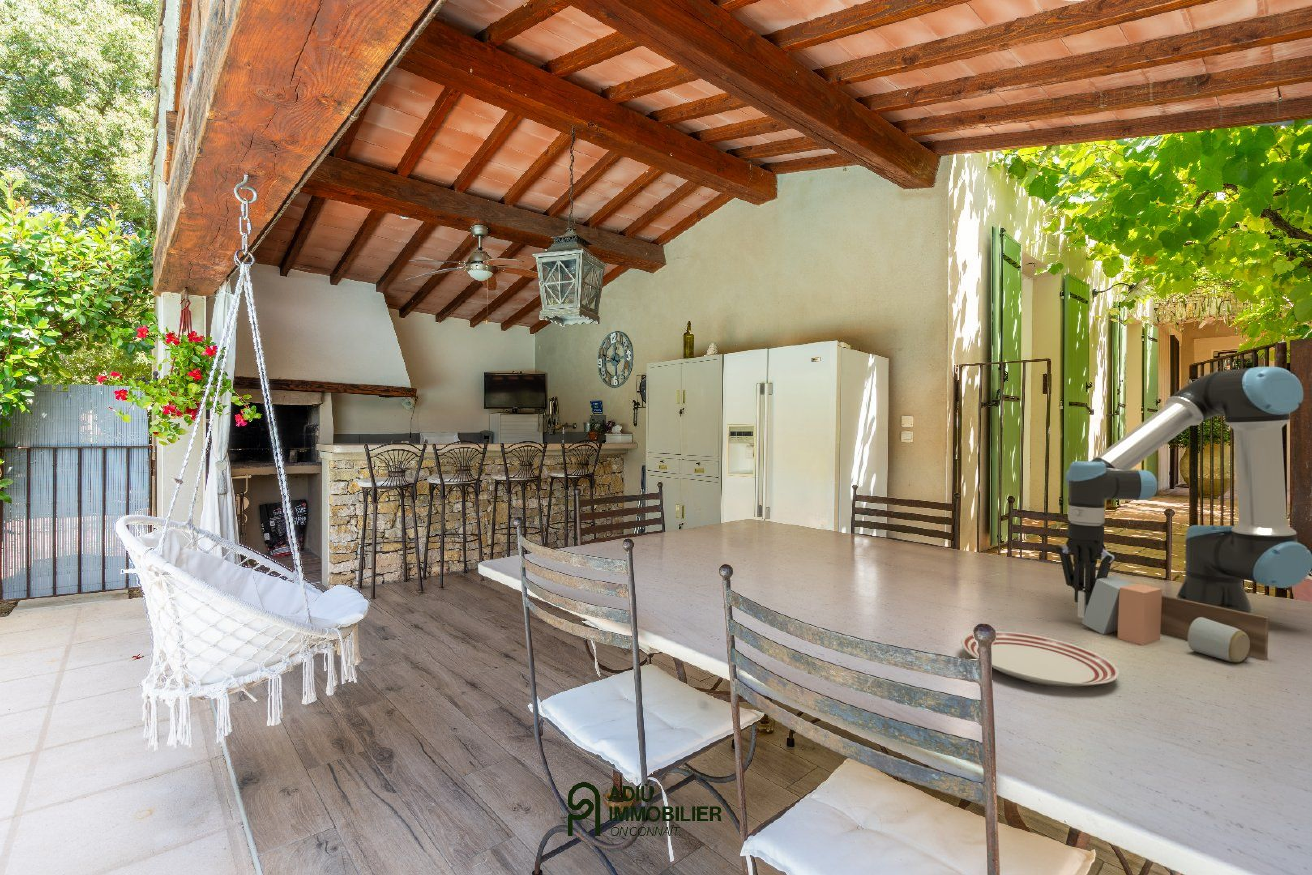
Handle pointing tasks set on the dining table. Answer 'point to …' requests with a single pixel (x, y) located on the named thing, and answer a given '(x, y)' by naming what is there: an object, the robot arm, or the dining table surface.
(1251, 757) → the dining table surface
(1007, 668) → the dinner plate
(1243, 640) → the ceramic mug
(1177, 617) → the brown wooden board
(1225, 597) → the robot arm
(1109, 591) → the light grey rectangular block
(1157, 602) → the tan rectangular block
